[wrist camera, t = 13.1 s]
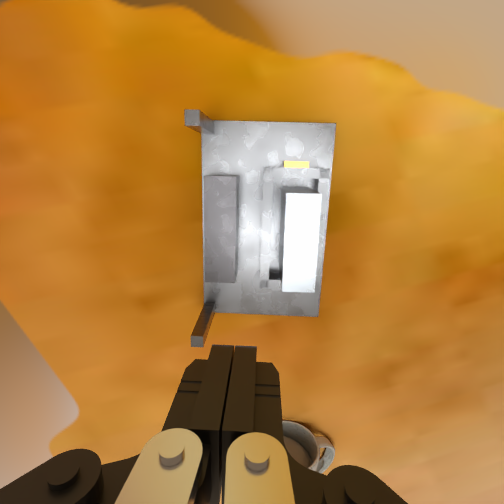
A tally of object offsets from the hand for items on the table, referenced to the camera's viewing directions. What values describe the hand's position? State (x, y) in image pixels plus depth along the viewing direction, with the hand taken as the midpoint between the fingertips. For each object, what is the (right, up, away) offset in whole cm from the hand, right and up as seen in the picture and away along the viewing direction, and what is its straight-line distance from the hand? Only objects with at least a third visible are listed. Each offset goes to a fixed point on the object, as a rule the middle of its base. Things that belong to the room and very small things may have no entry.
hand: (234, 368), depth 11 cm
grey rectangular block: (+5, +7, +25) cm, 26 cm away
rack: (+2, +7, +26) cm, 27 cm away
